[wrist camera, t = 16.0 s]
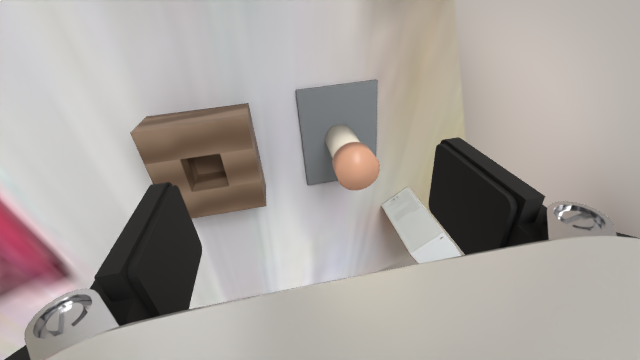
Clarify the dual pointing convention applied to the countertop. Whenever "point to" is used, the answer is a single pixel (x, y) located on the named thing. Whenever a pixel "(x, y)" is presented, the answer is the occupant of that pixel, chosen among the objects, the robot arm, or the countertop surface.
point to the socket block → (205, 158)
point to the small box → (418, 228)
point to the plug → (351, 158)
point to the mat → (335, 122)
